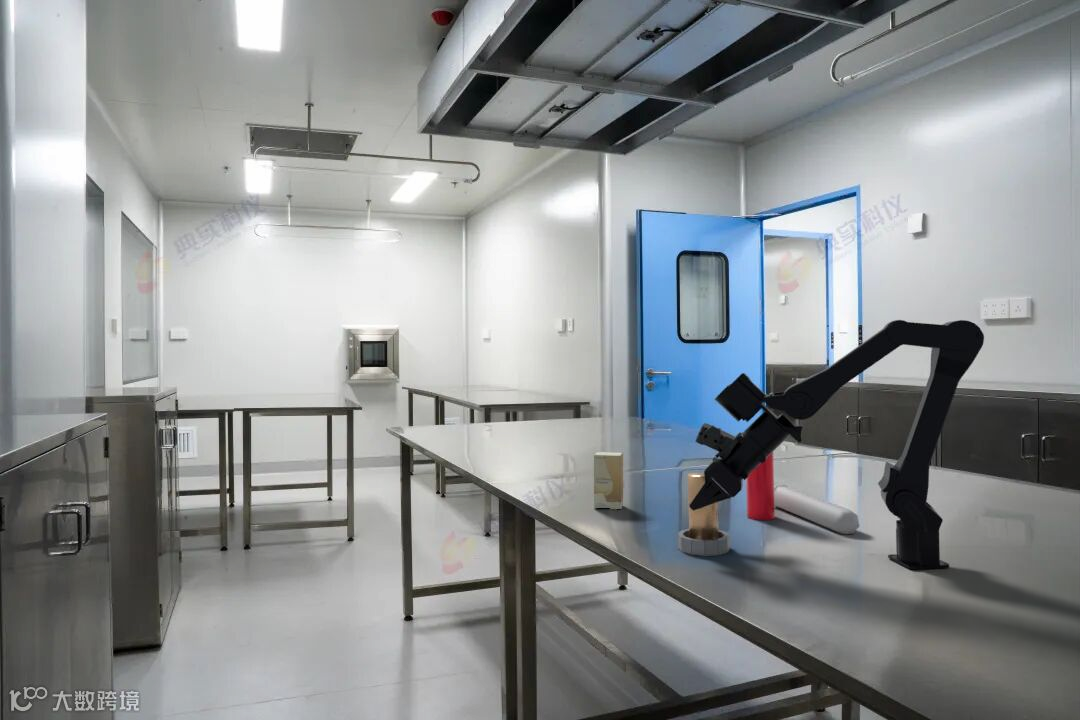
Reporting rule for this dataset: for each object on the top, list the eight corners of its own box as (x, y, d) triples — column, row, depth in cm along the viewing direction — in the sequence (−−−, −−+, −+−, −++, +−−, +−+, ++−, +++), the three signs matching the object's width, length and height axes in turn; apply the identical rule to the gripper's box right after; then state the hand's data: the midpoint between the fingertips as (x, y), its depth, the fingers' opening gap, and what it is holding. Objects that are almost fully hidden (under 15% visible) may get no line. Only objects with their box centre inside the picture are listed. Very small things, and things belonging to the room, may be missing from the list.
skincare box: (593, 509, 156) (592, 454, 156) (596, 505, 160) (595, 451, 160) (622, 510, 154) (620, 454, 154) (624, 505, 159) (623, 451, 158)
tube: (868, 514, 129) (794, 487, 154) (844, 507, 128) (773, 481, 153) (861, 542, 129) (787, 511, 154) (836, 535, 128) (766, 505, 153)
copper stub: (724, 550, 122) (722, 475, 122) (700, 554, 120) (698, 478, 120) (707, 543, 126) (705, 471, 126) (684, 546, 125) (682, 474, 124)
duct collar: (736, 554, 119) (736, 539, 119) (687, 556, 119) (686, 542, 119) (719, 540, 128) (719, 527, 128) (673, 543, 127) (672, 529, 127)
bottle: (777, 515, 146) (775, 419, 145) (771, 521, 141) (769, 422, 141) (750, 512, 148) (748, 418, 148) (744, 518, 144) (741, 421, 143)
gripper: (728, 403, 130) (670, 461, 134) (717, 413, 113) (651, 478, 117) (773, 446, 128) (713, 504, 132) (770, 463, 110) (700, 528, 114)
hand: (694, 502), depth 124 cm, fingers open, 9 cm apart
